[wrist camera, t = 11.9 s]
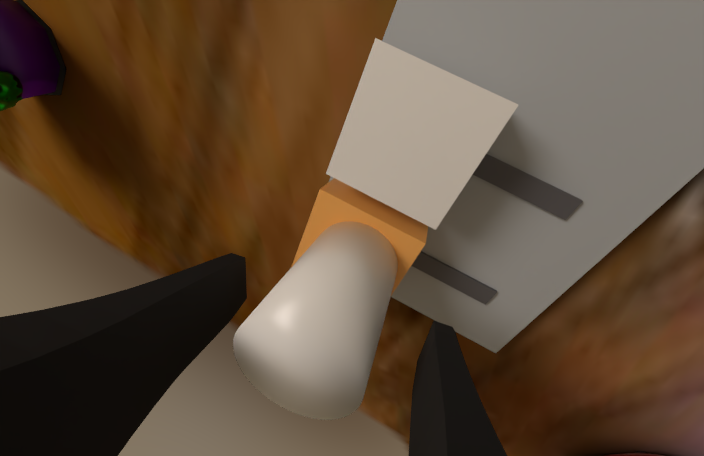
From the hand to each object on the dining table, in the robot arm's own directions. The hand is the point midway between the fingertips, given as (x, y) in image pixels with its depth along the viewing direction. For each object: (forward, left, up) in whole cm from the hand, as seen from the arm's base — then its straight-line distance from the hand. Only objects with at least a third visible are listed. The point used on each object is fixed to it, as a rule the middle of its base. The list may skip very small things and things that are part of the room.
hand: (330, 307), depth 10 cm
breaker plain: (0, -6, -6) cm, 8 cm away
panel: (-3, -5, -7) cm, 10 cm away
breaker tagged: (0, 0, -6) cm, 6 cm away
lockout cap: (0, 0, -3) cm, 3 cm away
